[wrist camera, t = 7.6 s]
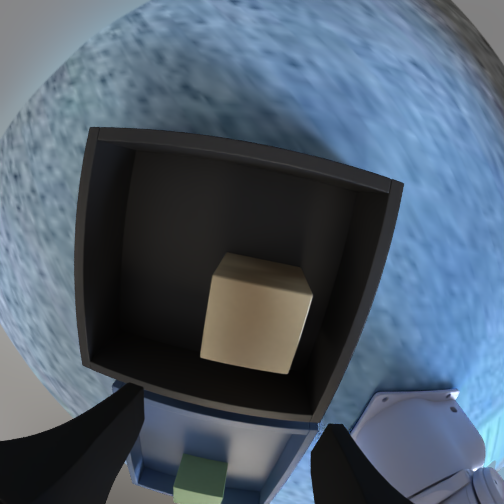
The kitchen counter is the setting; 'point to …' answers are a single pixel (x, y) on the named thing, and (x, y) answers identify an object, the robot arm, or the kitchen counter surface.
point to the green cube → (199, 481)
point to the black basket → (211, 254)
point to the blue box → (216, 447)
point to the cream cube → (255, 313)
